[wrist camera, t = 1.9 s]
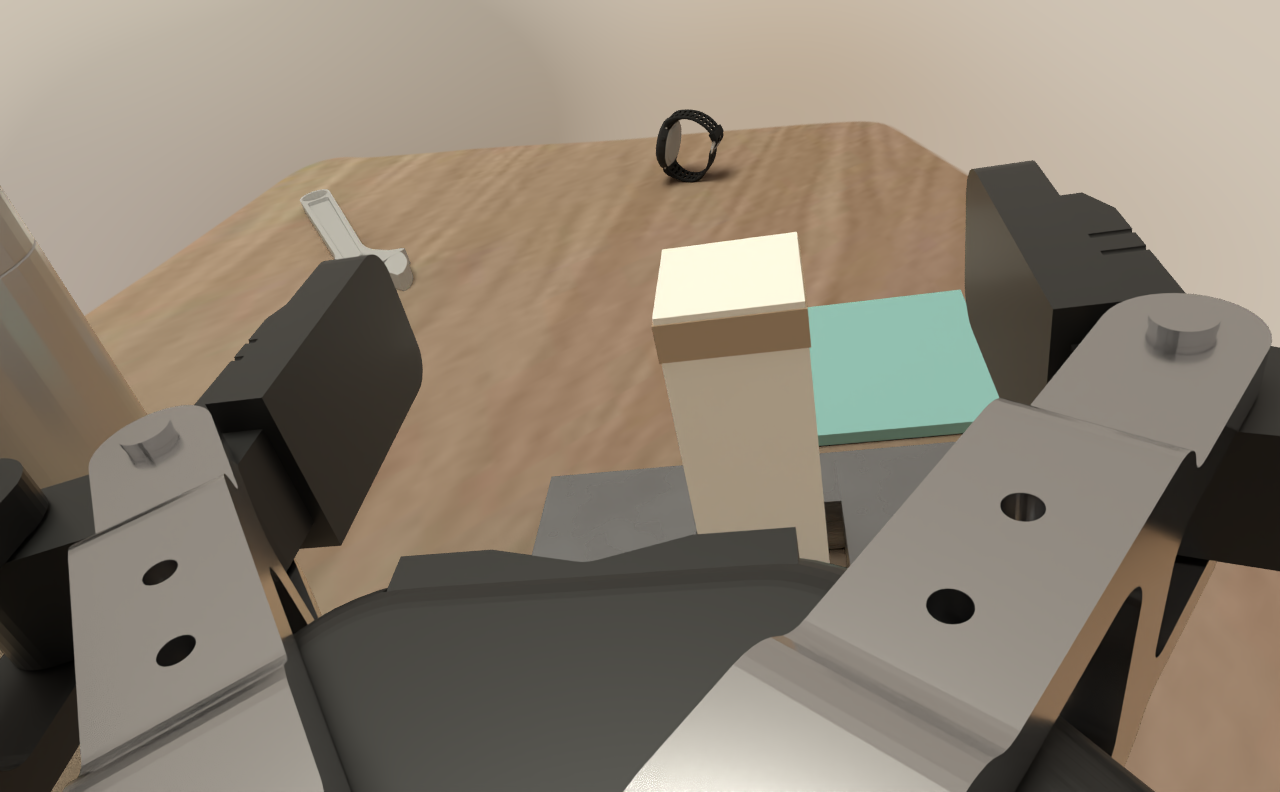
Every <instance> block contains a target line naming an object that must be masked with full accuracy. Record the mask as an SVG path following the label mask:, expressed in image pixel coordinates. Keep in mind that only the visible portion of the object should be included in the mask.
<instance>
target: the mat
mask: <svg viewBox="0 0 1280 792" xmlns="http://www.w3.org/2000/svg"><path fill="white" fill-rule="evenodd" d="M808 317H809V327H810V338H811V348H810V359H811V370H812V380H813V391H814V402H815V412H816V423H817V433H818V444H819V446H824V445H836V444H847V443H858V442H870V441H881V440H892V439H904V438H915V437H926V436H938V435H949V434H960V433H964V432H965V431H966V430H967V428H968V427H969V426H970V425H971V424H972V423H973V421H974V420H975V419H976V418H977V417H978V416H979V414H980V413H981V412H982V411H983V410H984V409H985V408H986V407H987V406H988V405H989V404H990V403H991V402H992V401H994V400H995V399H998V398H999V396H998V393H997V391H996V388H995V386H994V383H993V381H992V378H991V376H990V373H989V371H988V368H987V366H986V363H985V361H984V358H983V356H982V353H981V351H980V348H979V346H978V343H977V341H976V339H975V336H974V334H973V331H972V328H971V325H970V322H969V317H968V312H967V305H966V302H965V300H964V297H963V295H962V292H961V290H954V291H945V292H937V293H928V294H920V295H911V296H902V297H894V298H885V299H877V300H868V301H859V302H851V303H842V304H834V305H825V306H816V307H808Z"/></svg>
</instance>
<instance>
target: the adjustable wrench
mask: <svg viewBox="0 0 1280 792" xmlns="http://www.w3.org/2000/svg"><path fill="white" fill-rule="evenodd" d="M300 202H301V204H302V206H303V209H304V211H305V213H306V214H307V216H308V218H309V219H310V221H311V222H312V224H313V225H314V227H315V229H316V230H317V232H318V233H319V235H320V237H321V238H322V240H323V241H324V243H325V245H326V246H327V248H328V249H329V251H330V252H331V254H332V256H333V257H334V259H342V258H349V257H356V256H363V255H371V254H373V255H376V256H378V257H379V258H380V259H381V260H382V261H383V262H384V264H385V265H386V267H387V269H388V271H389V273H390V276H391V278H392V281H393V283H394V286H395V288H396V289H399V290H402V291H405V290H407V289H408V288H410V286H411V284H412V281H413V274H412V271H411V269H410V266H409V264H411V263H410V261H409V258H408V255H407V253H406V250H405V249H404V248H400V249H395V250H376V249H370V248H367V247H365V246H364V245H363V244H362V243H361V242H360V240H359V238H358V237H357V235H356V233H355V232H354V230H353V229H352V227H351V225H350V224H349V222H348V220H347V219H346V217H345V216H344V214H343V212H342V211H341V209H340V207H339V206H338V204H337V203H336V201H335V199H334V198H333V196H332V194H331V193H330V191H329V190H326V189H323V190H317V191H314V192H311V193H308V194H306V195H304V196H303V197H302V198H301V199H300Z"/></svg>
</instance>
